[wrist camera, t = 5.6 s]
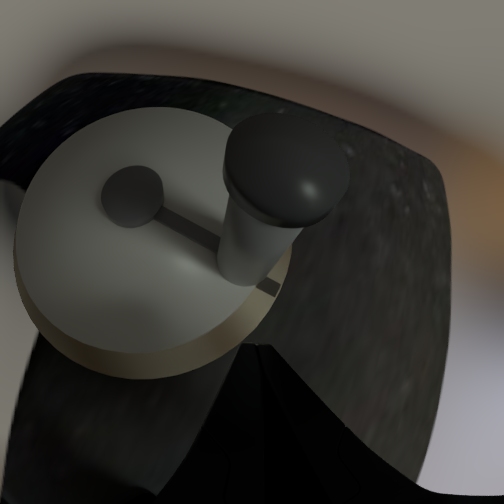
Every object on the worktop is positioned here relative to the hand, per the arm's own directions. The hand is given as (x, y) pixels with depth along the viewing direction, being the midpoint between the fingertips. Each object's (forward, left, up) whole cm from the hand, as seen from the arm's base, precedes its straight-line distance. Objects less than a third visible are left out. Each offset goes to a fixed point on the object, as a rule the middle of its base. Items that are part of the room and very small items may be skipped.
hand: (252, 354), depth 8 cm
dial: (+1, +8, -5) cm, 10 cm away
